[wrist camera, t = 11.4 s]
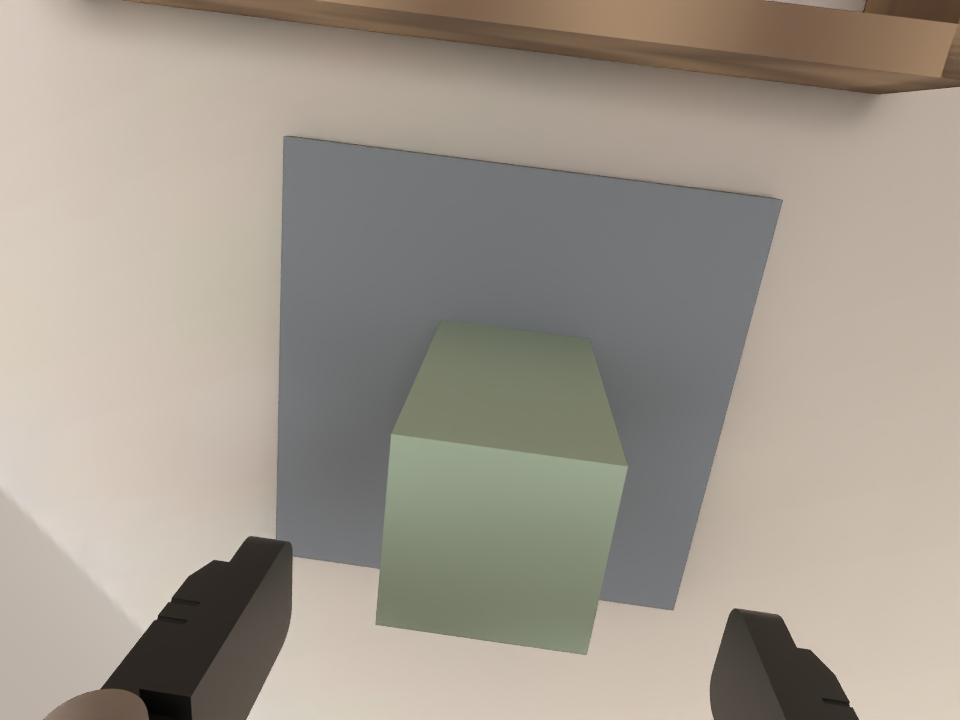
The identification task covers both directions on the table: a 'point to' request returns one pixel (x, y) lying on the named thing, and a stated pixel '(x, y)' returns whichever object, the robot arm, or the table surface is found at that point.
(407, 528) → the sage block
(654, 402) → the slate mat
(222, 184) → the table surface
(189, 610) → the robot arm
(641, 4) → the wooden frame
